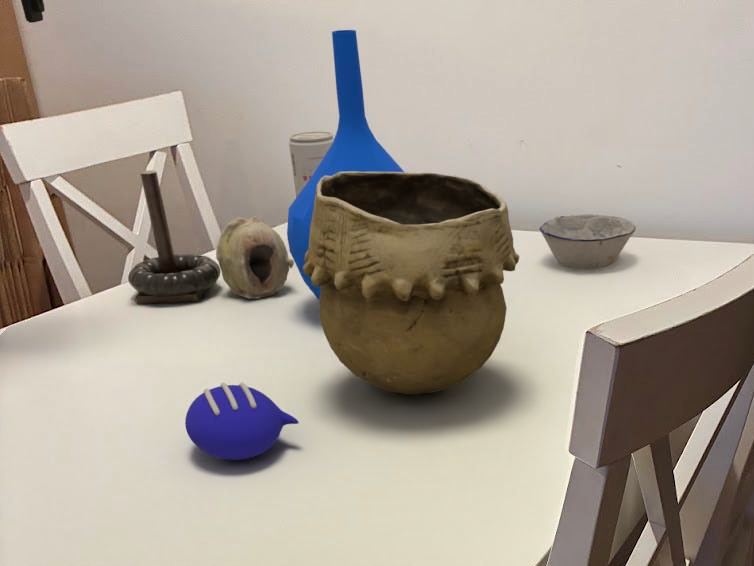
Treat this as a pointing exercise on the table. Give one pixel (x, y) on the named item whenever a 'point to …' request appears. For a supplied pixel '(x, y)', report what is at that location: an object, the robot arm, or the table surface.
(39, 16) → the robot arm
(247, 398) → the decorative object
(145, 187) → the brown upright peg
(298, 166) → the beverage can
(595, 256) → the bowl
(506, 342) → the table surface
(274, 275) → the beige rounded lump
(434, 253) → the clay pot
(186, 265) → the ring
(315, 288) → the vase
